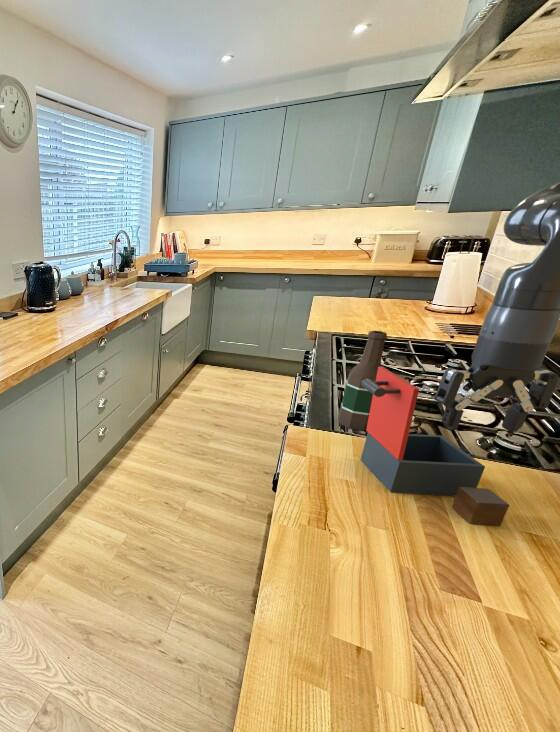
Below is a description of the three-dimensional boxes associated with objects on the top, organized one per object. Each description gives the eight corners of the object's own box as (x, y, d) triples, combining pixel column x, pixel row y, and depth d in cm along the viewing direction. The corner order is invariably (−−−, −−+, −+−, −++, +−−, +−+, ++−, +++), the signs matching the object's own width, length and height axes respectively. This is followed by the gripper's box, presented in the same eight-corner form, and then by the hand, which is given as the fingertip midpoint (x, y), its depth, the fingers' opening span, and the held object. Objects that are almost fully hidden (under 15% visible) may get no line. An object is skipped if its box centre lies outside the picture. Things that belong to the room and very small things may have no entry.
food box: (432, 463, 88) (441, 435, 86) (473, 497, 77) (485, 466, 75) (360, 459, 91) (367, 432, 88) (390, 492, 80) (399, 462, 78)
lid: (382, 366, 83) (354, 367, 84) (419, 388, 72) (386, 389, 73) (370, 430, 88) (343, 430, 89) (402, 460, 77) (372, 459, 78)
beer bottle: (367, 434, 100) (392, 338, 91) (331, 423, 106) (352, 332, 97) (379, 424, 104) (404, 331, 95) (344, 414, 110) (365, 326, 101)
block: (480, 509, 75) (488, 488, 73) (500, 526, 70) (510, 504, 69) (451, 507, 75) (459, 486, 74) (469, 524, 71) (478, 502, 70)
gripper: (479, 341, 61) (445, 438, 67) (596, 341, 59) (550, 441, 65) (443, 329, 68) (416, 417, 74) (547, 328, 66) (510, 419, 72)
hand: (479, 428), depth 69 cm, fingers open, 8 cm apart
